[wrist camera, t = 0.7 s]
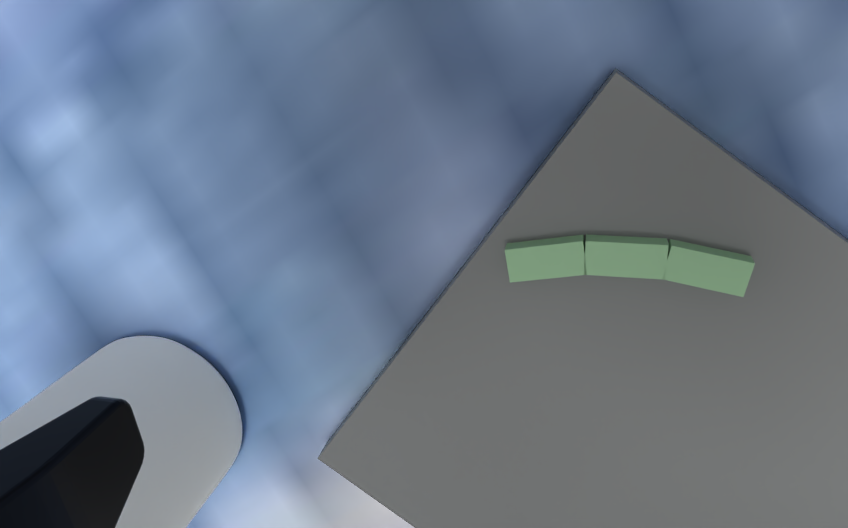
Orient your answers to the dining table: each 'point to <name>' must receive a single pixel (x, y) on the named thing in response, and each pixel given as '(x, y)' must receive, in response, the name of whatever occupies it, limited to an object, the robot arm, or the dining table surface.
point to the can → (153, 422)
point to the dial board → (623, 350)
